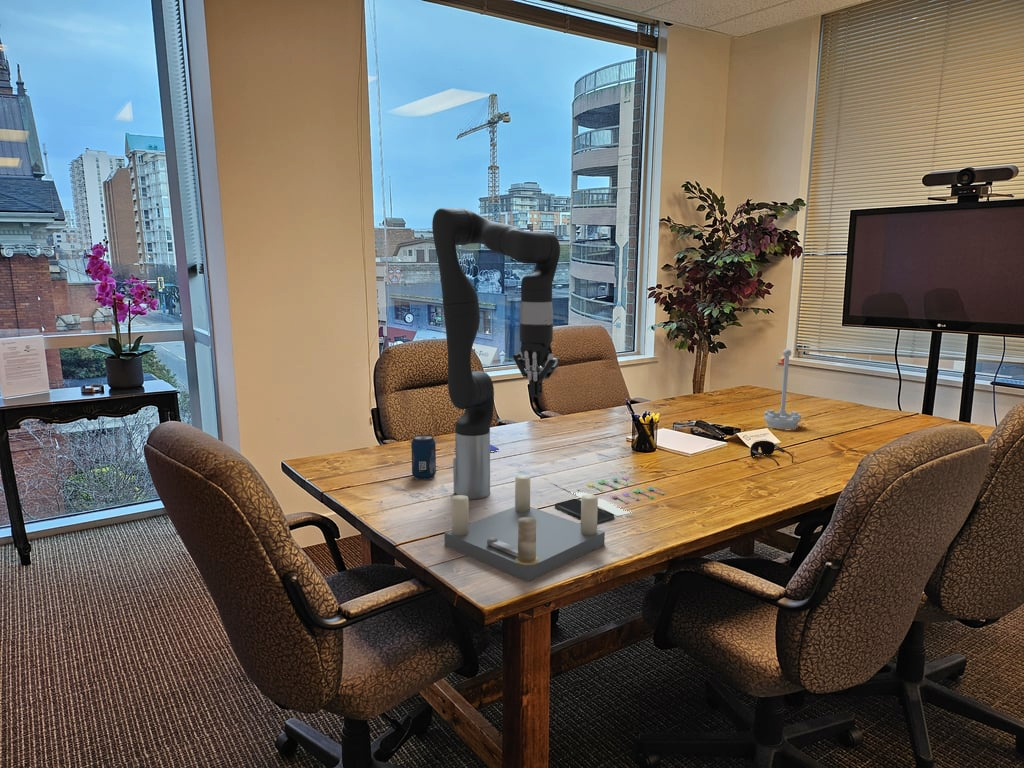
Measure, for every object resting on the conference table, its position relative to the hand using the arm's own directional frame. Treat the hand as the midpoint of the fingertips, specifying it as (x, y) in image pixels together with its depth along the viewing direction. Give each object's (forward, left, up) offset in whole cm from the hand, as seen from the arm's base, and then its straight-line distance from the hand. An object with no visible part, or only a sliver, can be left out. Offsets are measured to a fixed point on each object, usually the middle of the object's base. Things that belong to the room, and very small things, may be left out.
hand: (535, 396), depth 157 cm
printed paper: (+1, +36, -32) cm, 48 cm away
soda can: (-47, +4, -31) cm, 57 cm away
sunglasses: (+18, +93, -32) cm, 100 cm away
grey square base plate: (+7, -11, -31) cm, 34 cm away
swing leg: (+12, -21, -28) cm, 37 cm away
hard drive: (-56, +34, -32) cm, 73 cm away
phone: (+4, +14, -32) cm, 35 cm away
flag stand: (+2, +139, -31) cm, 142 cm away
